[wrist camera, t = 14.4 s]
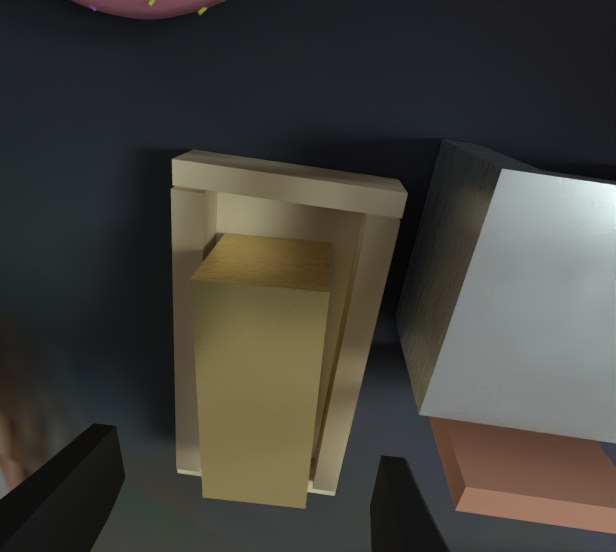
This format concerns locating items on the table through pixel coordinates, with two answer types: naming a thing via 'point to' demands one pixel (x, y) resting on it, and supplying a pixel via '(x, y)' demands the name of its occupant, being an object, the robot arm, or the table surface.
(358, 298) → the beige tray
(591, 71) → the table surface
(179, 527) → the table surface
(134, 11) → the doughnut
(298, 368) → the olive rectangular pillar
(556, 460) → the salmon pink block
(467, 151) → the socket sleeve
